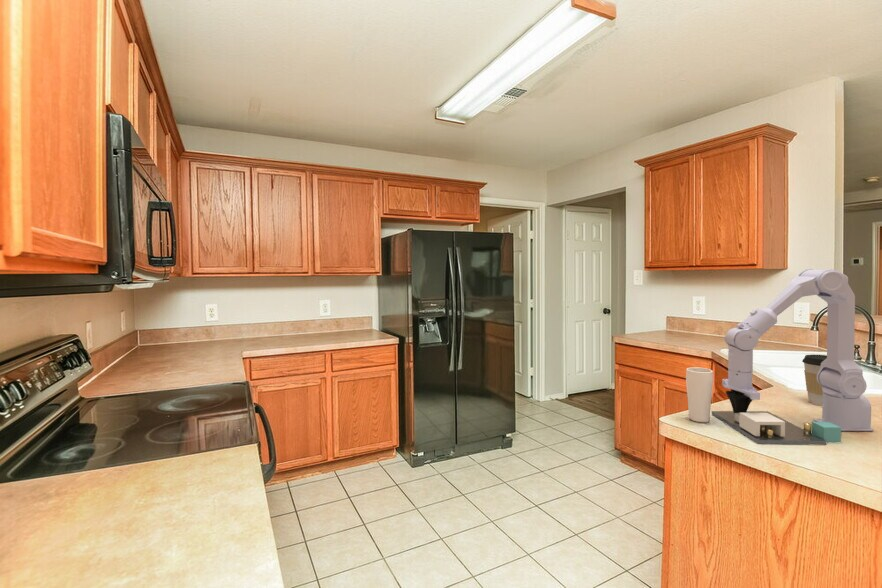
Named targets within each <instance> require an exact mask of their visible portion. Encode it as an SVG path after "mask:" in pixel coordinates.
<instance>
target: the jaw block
mask: <svg viewBox="0 0 882 588" xmlns="http://www.w3.org/2000/svg"><path fill="white" fill-rule="evenodd" d="M811 424H812V430H811V433H812V434H814V435H816V436H818V437H820V438H822V439H824V440H826V442H841V443H842V431H841V427H839V426H837V425H834V424H832V423H830V422H816V421H811Z"/></svg>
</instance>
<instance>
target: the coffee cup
mask: <svg viewBox="0 0 882 588" xmlns="http://www.w3.org/2000/svg"><path fill="white" fill-rule="evenodd" d="M826 358H827V354H826V355H825V354H805V355H804V358H803V359H802V361H801V362H802V363H803V364H804V365H803V366H804V380H805V386H806V387H805V388H806V391H807V397H808V398H807V399H808V403H809V404H812V405H815V406H819V407H820V406H821V407H823V390H822V386H821V385H820V384H819V383H818V381H817V374H818V372H819V371H820V368H821V363H822V362H823V361H824V360H825V359H826Z"/></svg>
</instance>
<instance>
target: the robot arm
mask: <svg viewBox="0 0 882 588" xmlns="http://www.w3.org/2000/svg"><path fill="white" fill-rule="evenodd" d="M810 296H811V297H812V296H817V297H818V298H820V299H822V300H823V301H824V302H826V304H827V309H826V310H827V312H826V313H827V316H826V321H827V325H826V355H827V358H826V359H825V360H824V361H823V362H822V363H821V368H820V371H819V372H818V374H817V381H818V383H819V384H820V385H821V386H822V390H823V406H821V407H822V411H821V413H822V414H821V418H814V419H813V422H830V423H832V424H834V425H837V426H839V427H841V432H842V431H843V432H844V431H845V432H846V431H847V432H852V431H853V432H873V431H874V428H872V427H871V426H872V424H871V423H872V405H871V402H870V400H869V399H868V398H867V397H866V396H865V395H863V394H864V393H865V392H866V390H867V386H868V385H867V382H866V380H865V378H864V375H863V374H864V373H863V369H862V368H861V367H860V366H859V365H858V364H857V362H856V361H855V332H856V331H855V328H856V327H855V325H856V324H855V321H856V295H855V293H854V292H853V289H852V288H851V286H850V285H849V276H847V275H846V274H844V273H843V272H841V271H839V270H837V269H833V268H831V269H812V268H809V269H808V268H807V269H804V270H802V271H801V272H799V273H798V274H797V276H794V277H793V278H792V279H791V281H790V283H789V284H788V285H787V286H786V287H785V288H784V289H783V290H782V291H781V292H780V293H779V294H778V295H776V297H775V298H774V299H773V300H771V302H770V303H769V304H768V305H767V306H766V307H763V308H762V307H759V308H756V310H755V309H752V310H751V311H750V312H749V313H750V314H749V316H748V317H747V318H746V319H744V320H743V321H742V322H739V323H737V324H736V325H737V327H734V328H732V327H731V328H730V329H729V330H728V331H727V332H726V335H725V336H724V337H723V339H724V342H725V344H727V346H728V351H727V352H728V354H727V355H728V358H727V369H728V371H727V378H722V379H721V386H723V388H725V389H729V390H726V391H725V394H726V396H727V397H728V400H729V402H730V404H731V408H732V411H733V412H734V415H735V413H746V412H747V411H748V409H749V406H750V404H751V403H752V402H753V401H760V400H761V393H760V391H757V390H756V388H755V387H754V386H753V371H754V369H753V368H754V366H753V364H754V363H753V361H754V354H753V353H754V348H756V347H757V346H758V344H759V340H760V338H761V337H762V336H763V335H764V334H766V333H767V332H768V331H769V330H770V329H771V328H773V327H774V326H775V325H776V324H777V323H778V316H779V315H780V314H782V313H784V312H785V311H786V310H787V309H788V308H790V307H791V306H792V305H793V304H795V303H796V302H797V301H798V300H800V299H802V298H805V297H810Z"/></svg>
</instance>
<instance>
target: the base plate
mask: <svg viewBox="0 0 882 588" xmlns="http://www.w3.org/2000/svg"><path fill="white" fill-rule="evenodd" d="M746 413H769V414H771V415H772V416H774V417H776V418H778V419H780V420H782V421H784V422H785V437H782V436H779V435H777V434H775V433H774V432H773V429H767V428H765V425H760V436H755V435H753V434H751V433H750V432H748V431H746V430H745V429H743V428H742V427H740V426H739V422H737V421H736V420H734V412H733V410H712V411H711V415H712V416H713V417H715V418H717V419H718V420H720V421H721V422H723V423H724V424H725V425H728V426H729V427H731V428H732V429H734V430H736V431H737V432H739V433H740V434H741V435H742V436H745V437H746V438H747V439H750V440H751V441H752V442H754V443H756V444H757V445H803V444H826V445H827V443H826V440H824V439H822V438H820V437H818V436H816V435H814V434H812V423H811V422H803V428H802V427H799V426H798V425H796V424H793V423H792V422H790V421H787V419H786V420H785V419H784V418H782V417H780V416H778V415H776V414H774V413H772V412H770V411H768V410H767V411H764V410H763V411H761V410H760V411H759V410H757V411H755V410H754V411H753V410H751V411H750V410H747V412H746Z"/></svg>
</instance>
